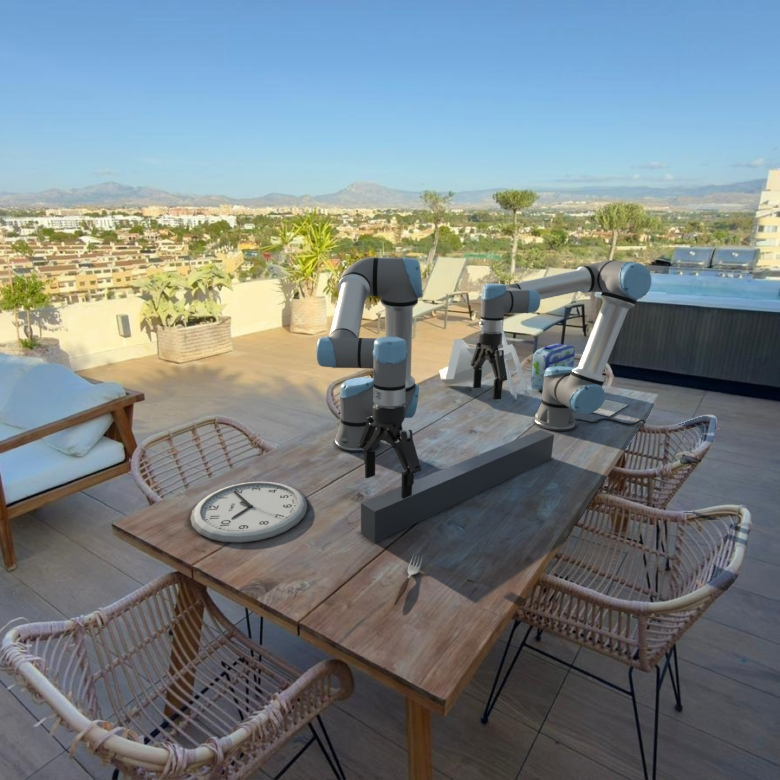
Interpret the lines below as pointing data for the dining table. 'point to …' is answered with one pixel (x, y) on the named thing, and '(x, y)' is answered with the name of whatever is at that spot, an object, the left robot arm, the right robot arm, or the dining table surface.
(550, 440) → the bar
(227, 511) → the wall clock
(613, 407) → the invitation card
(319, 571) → the dining table surface
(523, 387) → the white plastic object
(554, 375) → the right robot arm
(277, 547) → the dining table surface
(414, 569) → the fork
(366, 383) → the left robot arm
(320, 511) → the dining table surface
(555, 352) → the lunch box
